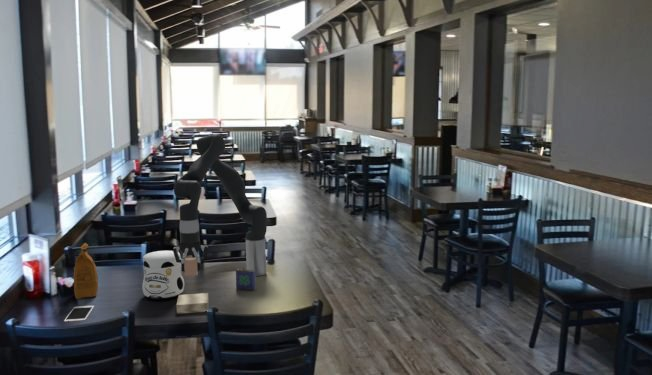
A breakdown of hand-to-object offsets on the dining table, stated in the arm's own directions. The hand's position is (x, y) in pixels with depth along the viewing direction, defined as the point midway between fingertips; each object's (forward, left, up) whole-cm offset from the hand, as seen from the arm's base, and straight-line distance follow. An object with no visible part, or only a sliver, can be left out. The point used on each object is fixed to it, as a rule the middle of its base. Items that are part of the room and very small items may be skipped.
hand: (191, 271), depth 233 cm
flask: (-22, -18, -15) cm, 32 cm away
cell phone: (+44, -2, -16) cm, 47 cm away
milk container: (+13, -17, -15) cm, 26 cm away
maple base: (0, 0, -15) cm, 15 cm away
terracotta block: (0, 0, -1) cm, 1 cm away
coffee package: (+46, -25, -15) cm, 54 cm away
